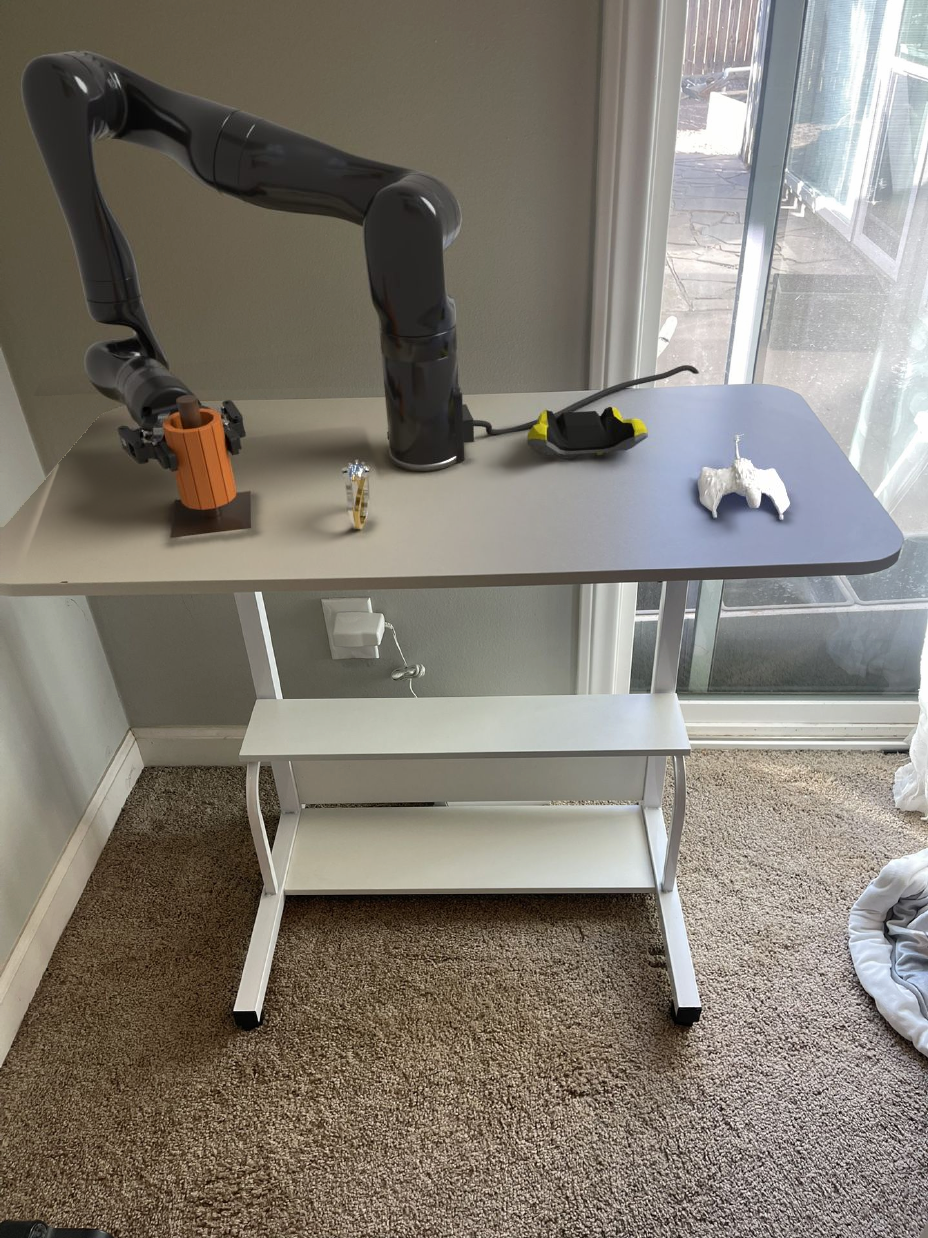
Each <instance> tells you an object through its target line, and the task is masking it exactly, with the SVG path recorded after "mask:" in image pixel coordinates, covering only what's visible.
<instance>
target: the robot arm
mask: <svg viewBox="0 0 928 1238" xmlns="http://www.w3.org/2000/svg"><path fill="white" fill-rule="evenodd" d="M20 81H21V82H20V93H21V99H22V103H23V107H24V111H25V114H26V118H27V121H28V124H29V127H30V130H31V132H32V135H33V138H34V141H35V143H36V145H37V148H38V150H39V153H40V156H41V158H42V161H43V164H44V166H45V169H46V173H47V175H48V178H49V180H50V184H51V185H52V189H53V191H54V193H55V196H56V199H57V201H58V204H59V207H60V209H61V212H62V214H63V217H64V218H63V219H64V220H65V223H66V226H67V229H68V232H69V235H70V239H71V243H72V246H73V249H74V255H75V258H76V262H77V268H78V272H79V276H80V280H81V285H82V290H83V294H84V295H83V296H84V299H85V304H86V308H87V311H88V314H89V316H90V318H91V319H92V320H93V321H95V322H96V323H99V324H100V325H101V324H102V325H108V326H119V327H125V328H129V329H131V330H132V333H133V334H132V335H131V336H124V337H117V338H111V339H104V340H103V339H102V340H99V341H96V342H94V343H92V344H91V345H90V346H89V347H88V348H87V350H86V352H85V355H84V360H83V363H84V364H83V365H84V370H85V373H86V376H87V378H88V380H89V382H90V383H91V385H92V386H93V388H95V390H96V391H97V392H99V393H100V394H101V395H102V396H104V397H105V398H108V399H110V400H112V401H114V402H117V403H120V404H122V405H125V406H126V409H127V411H128V413H129V415H130V417H131V419H132V420H133V421H134V422H135V423H136V424H137V425H138V428H135V427H131V428H130V427H129V426H128V425H121V426H119V427H116V428H117V433H118V437H119V440H120V443H121V448H122V449H123V450H124V451H125V453H126V454H128V455H129V456H130V457H131V458H132V459H133V460H134V461H135V462H136V463H137V464H139V465H145V464H147V463H149V462H150V460H154V461H155V462H156V463H158V464H159V465H160V467H161V468H162V469H164V470H169V471H170V472H171V473H174V471H178V466H177V462H176V458H175V455H174V452H173V451H172V450H171V449H170V447H169V446H168V445H167V442H166V438H165V434H164V430H163V421H164V420H165V419H166V418H167V417H169V416H170V415H173V414H174V413H177V412H179V411H178V407H177V402H176V399H177V398H179V397H181V396H185V395H194V396H196V394H195V393H193V391H192V390H191V389H190V388H189V387H188V386H187V385H186V384H185V383H184V382H183V381H182V380H181V379H180V378H179V377H178V376H177V375H176V374H174V373H172V372H171V371H170V364H169V360H168V357H167V354H166V352H165V349H164V348H163V345H162V344H161V342H160V340H159V338H158V336H157V333H156V332H155V329H154V328H153V325H152V323H151V320H150V318H149V315H148V313H147V308H146V306H145V302H144V297H143V293H142V288H141V287H142V286H141V281H140V276H139V271H138V270H139V269H138V264H137V260H136V257H135V254H134V249H133V247H132V245H131V242H130V240H129V237H128V236H127V234H126V232H125V231H124V228H123V227H122V225H121V224H120V221H118V218H117V217H116V216H115V214H114V212H113V211H112V209H111V207H110V206H109V203H108V201H107V199H106V197H105V195H104V192H103V190H102V187H101V185H100V180H99V177H98V174H97V168H96V162H95V155H94V154H95V153H94V152H95V151H94V143H96V142H100V141H101V142H102V141H110V140H112V141H118V142H124V143H127V144H132V145H136V146H139V147H142V148H145V149H148V150H152V151H154V152H156V153H159V154H161V155H164V156H165V157H167V158H169V159H170V160H171V161H173V162H174V163H175V164H177V165H178V166H179V167H180V168H181V169H182V170H183V171H184V172H185V173H187V174H188V175H189V177H191V178H192V179H193V180H195V181H196V182H197V183H199V184H200V185H202V186H203V187H205V188H207V189H208V190H210V191H212V192H214V193H217V194H219V195H222V196H225V197H227V198H230V199H232V200H235V201H238V202H241V203H243V204H245V205H249V206H252V207H255V208H259V209H262V210H265V211H270V212H278V213H285V214H295V215H305V216H316V217H326V218H327V217H328V218H334V219H338V220H342V221H346V222H349V223H352V224H355V225H357V226H359V227H361V228H362V238H363V249H364V259H365V267H366V275H367V281H368V282H367V283H368V289H369V297H370V299H371V304H372V306H373V308H374V310H375V312H376V314H377V318H378V319H377V320H378V329H379V330H378V331H379V341H380V353H381V365H382V375H383V386H384V387H383V389H384V398H385V409H386V410H385V411H386V421H387V432H386V435H387V440H388V447H389V449H388V453H389V460H390V462H391V463H392V464H394V465H395V466H396V467H398V468H401V469H404V470H407V471H414V472H430V471H437V470H441V469H446V468H448V467H450V466H452V465H454V464H455V463H460V462H464V461H465V444H466V443H475V427H479V428H480V427H481V428H482V427H483V428H484V429H485V432H486V434H487V435H490V436H501V435H505V434H512V433H516V432H517V433H518V432H522V431H523V432H524V431H527V430H531V428H532V427H533V425H537V421H538V418H537V419H535V420H531V421H529V422H525V423H522V424H519V425H517V426H513V427H509V428H504V429H503V428H502V429H495V428H493V426H492V424H491V422H489V421H486V420H482V419H480V420H479V419H474V418H473V415H472V414H471V412H470V410H469V408H468V405H467V404H466V403H463V402H464V401H463V391H462V388H461V386H460V384H459V363H458V360H459V359H458V337H457V334H458V333H457V310H456V309H457V308H456V307H457V306H456V302H455V300H454V298H453V297H452V295H450V294H448V293H447V286H446V274H445V273H446V272H445V261H444V260H445V259H444V258H445V257H444V252H446V250H447V249H449V248H450V246H451V245H452V244H453V243H454V241H455V240H456V238H457V237H458V235H459V233H460V231H461V228H462V221H463V214H462V207H461V204H460V202H459V199H458V198H457V195H456V194H455V192H454V191H453V189H452V188H451V187H450V186H449V185H448V184H446V182H445V181H444V180H442V179H441V178H439V177H438V176H436V175H433V174H432V173H430V172H429V173H428V172H426V171H422V170H417V169H413V168H410V167H409V168H408V167H404V166H400V165H396V164H391V163H387V162H384V161H379V160H374V159H371V158H366V157H365V156H364V157H363V156H361V155H357V154H354V153H350V152H348V151H346V150H343V149H341V148H338V147H336V146H335V145H331V144H329V143H327V142H325V141H322V140H320V139H317V138H315V137H313V136H310V135H307V134H305V133H302V132H298V131H297V130H294V129H291V128H289V127H286V126H284V125H281V124H279V123H276V122H274V121H271V120H270V119H267V118H264V117H260V116H258V115H256V114H253V113H250V112H247V111H245V110H242V109H240V108H236V107H232V106H228V105H226V104H223V103H220V102H218V101H217V102H216V101H214V100H211V99H208V98H205V97H201V96H198V95H196V94H195V95H194V94H191V93H187V92H183V91H181V90H177V89H173V88H171V87H168V86H166V85H163V84H161V83H159V82H156V81H154V80H152V79H151V78H149V77H146V76H144V75H142V74H140V73H138V72H136V71H134V70H132V69H131V68H128V67H126V66H124V65H122V64H121V63H118V62H117V61H114V60H112V59H111V58H108V57H106V56H104V55H101V54H99V53H95V52H92V51H89V50H88V51H87V50H72V51H71V50H70V51H64V52H55V53H49V54H42V55H39V56H36V57H34V58H32V59H31V60H30V61H29V62H28V63H27V64H26V66H25V67H24V69H23V71H22V75H21V79H20ZM686 371H688V372H689V373H692V374H694V375H698V374H700V371H699V370H698V369H697V367H695V366H693V365H690V364H685V365H679V366H677V367H674V368H672V369H670V370H667V371H665V372H662V373H657V374H653V375H649V376H645V377H640V378H636V379H631V380H627V381H625V382H620V383H618V384H615V385H612V386H609V387H607V388H605V389H602V390H599V391H598V392H595V393H594V394H592V395H589V396H587V397H585V398H583V399H581V400H578V401H575V402H574V403H573V404H571V405H568V406H567V407H565V408H563V409H560V410H559V411H556V412H553V414H554V415H555V417H556V418H558V417H559V416H560V415H561V414H562V413H566V412H574V411H575V410H577V409H579V408H581V407H584V406H585V405H586V406H587V405H588V404H590V403H593V402H595V401H596V400H598V399H601V398H602V397H605V396H607V395H609V394H612V393H614V392H618V391H620V390H621V391H622V390H623V389H627V388H630V387H631V388H632V387H635V386H638V385H642V384H647V383H652V382H655V381H660V380H664V379H667V378H670V377H673V376H674V375H678V374H679V373H682V372H686ZM197 400H198V405H199V408H200V409H201V408H203V409H211V407H209V406H207V405H203V404H202V403H201V401H200V400H199V398H198V397H197ZM221 403H222V405H221V406H220V407H219V408H214V409H213V410H215V411H216V412H218V413H220V415H221V419H222V424H223V428H224V433H225V438H226V443H227V448H228V452H229V454H231V456H236V455H239V454H240V450H242V448H243V447H242V442H241V439H243V438H245V437H246V436H247V433H246V430H245V426H244V425H245V424H244V418H243V415H242V413H241V412H240V410H239V408H237V406H236V404H235V403H234V401H233V400H231V399H226V400H223V401H222V402H221ZM144 440H145V441H147V442H145V441H144Z"/></svg>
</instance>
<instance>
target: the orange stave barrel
mask: <svg viewBox="0 0 928 1238" xmlns="http://www.w3.org/2000/svg"><path fill="white" fill-rule="evenodd" d="M199 410H200V414H201V419H202V424H203V426H202V427H199V428H194V429H186V430H184V429H183V428H182V424H181V420H180V415H179V412H177V413H174V414H173V415H170V416H169V417H167V418H166V419H165V420H164V421H163V430H164V434H165V438H166V442H167V445H168V446H169V447H170V449H171V450H172V451H173V452H174V455H175V458H176V462H177V466H178V471H174V472H173V473H174V478H175V481H176V486H177V489H178V493H179V498H180V499H181V502H182V504H184V505H185V506H186V507H188V508H192V509H198V510H201V509H202V510H205V509H213V508H215V507H216V508H217V507H220V506H222V505H225V504H227V503H229V502H230V501H231V500H233V499H234V498H235V496H236V493H237V487H236V481H235V476H234V473H233V467H232V463H231V458H230V452H229V451H228V448H227V443H226V438H225V433H224V428H223V424H222V419H221V415H220V413H218V412H216V411H215V410H214V409H212V408H210V409H203V408H201V409H200V408H199Z"/></svg>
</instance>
